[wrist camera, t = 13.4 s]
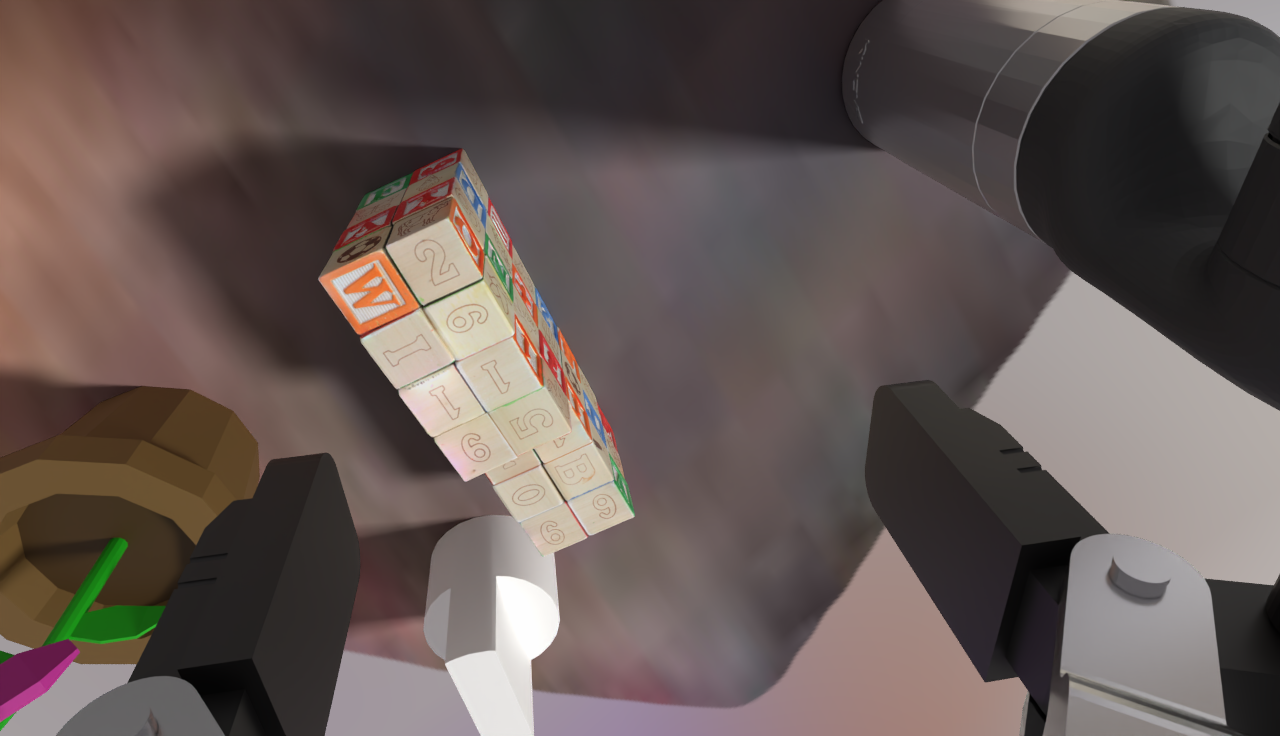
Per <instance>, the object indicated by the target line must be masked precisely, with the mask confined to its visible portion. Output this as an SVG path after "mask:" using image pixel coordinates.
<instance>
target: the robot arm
mask: <svg viewBox="0 0 1280 736" xmlns="http://www.w3.org/2000/svg"><path fill="white" fill-rule="evenodd" d="M842 95H843V100H844V104H845V108H846V112H847V114H848V116H849V118H850V120H851V122H852V124H853V126H854V127H855V128H856V129H857V130H858V131H859V133H860V134H861V135H862V136H863V137H864V138H865V139H867V140H868V141H870V142H871V143H873V144H874V145H875V146H877V147H879V148H881V149H882V150H884V151H886V152H888V153H889V154H891V155H893V156H895V157H896V158H898V159H899V160H901V161H903V162H904V163H906V164H908V165H909V166H911V167H913V168H915V169H916V170H918V171H920V172H922V173H923V174H925V175H927V176H929V177H930V178H932V179H934V180H935V181H937V182H939V183H941V184H942V185H944V186H946V187H948V188H949V189H951V190H953V191H955V192H956V193H958V194H960V195H961V196H963V197H965V198H967V199H968V200H970V201H972V202H974V203H975V204H977V205H979V206H981V207H982V208H984V209H986V210H988V211H989V212H991V213H993V214H994V215H996V216H998V217H1000V218H1001V219H1003V220H1005V221H1007V222H1009V223H1011V224H1012V225H1014V226H1016V227H1018V228H1019V229H1021V230H1023V231H1025V232H1026V233H1028V234H1030V235H1032V236H1033V237H1035V238H1037V239H1038V240H1040V241H1042V242H1044V243H1046V244H1047V245H1049V246H1050V247H1052V248H1053V249H1054V251H1055V253H1056V254H1057V256H1058V257H1059V258H1060V260H1061V261H1062V262H1063V263H1064V264H1065V265H1066V266H1067V267H1068V268H1069V269H1070V270H1071V271H1072V272H1074V273H1075V274H1076V275H1078V276H1079V277H1081V278H1082V279H1083V280H1085V281H1086V282H1088V283H1090V284H1091V285H1093V286H1094V287H1096V288H1097V289H1099V290H1100V291H1102V292H1103V293H1105V294H1106V295H1108V296H1109V297H1111V298H1112V299H1113V300H1115V301H1116V302H1118V303H1119V304H1121V305H1122V306H1123V307H1125V308H1126V309H1128V310H1129V311H1131V312H1132V313H1134V314H1135V315H1136V316H1138V317H1139V318H1141V319H1142V320H1143V321H1145V322H1146V323H1147V324H1149V325H1150V326H1152V327H1153V328H1154V329H1156V330H1157V331H1158V332H1160V333H1161V334H1163V335H1164V336H1165V337H1167V338H1168V339H1170V340H1171V341H1172V342H1174V343H1175V344H1176V345H1178V346H1179V347H1181V348H1182V349H1183V350H1185V351H1186V352H1188V353H1189V354H1190V355H1192V356H1193V357H1194V358H1196V359H1197V360H1199V361H1200V362H1202V363H1203V364H1205V365H1206V366H1208V367H1209V368H1211V369H1212V370H1214V371H1215V372H1217V373H1218V374H1220V375H1221V376H1223V377H1224V378H1226V379H1227V380H1229V381H1230V382H1232V383H1233V384H1235V385H1236V386H1238V387H1239V388H1241V389H1243V390H1244V391H1246V392H1247V393H1249V394H1251V395H1253V396H1254V397H1256V398H1258V399H1260V400H1261V401H1263V402H1265V403H1267V404H1269V405H1270V406H1272V407H1274V408H1276V409H1278V410H1280V37H1279V36H1277V35H1276V34H1275V33H1274V32H1272V31H1271V30H1270V29H1268V28H1266V27H1264V26H1263V25H1261V24H1259V23H1257V22H1255V21H1253V20H1251V19H1249V18H1246V17H1242V16H1239V15H1235V14H1230V13H1226V12H1220V11H1212V10H1203V9H1194V8H1185V7H1175V6H1167V5H1158V4H1149V3H1140V2H1132V1H1119V0H883V1H881V2H880V3H879V4H878V5H877V6H875V7H874V8H873V9H872V11H871V12H870V13H869V14H868V16H867V17H866V18H865V19H864V20H863V22H862V23H861V24H860V26H859V28H858V30H857V32H856V33H855V35H854V37H853V39H852V40H851V43H850V46H849V49H848V52H847V54H846V57H845V61H844V68H843V74H842ZM865 481H866V487H867V492H868V495H869V498H870V501H871V503H872V506H873V508H874V509H875V511H876V513H877V514H878V516H879V517H880V519H881V520H882V522H883V524H884V525H885V527H886V528H887V530H888V531H889V533H890V534H891V536H892V538H893V539H894V541H895V542H896V544H897V546H898V547H899V549H900V550H901V552H902V553H903V555H904V556H905V558H906V560H907V561H908V563H909V564H910V566H911V567H912V569H913V570H914V572H915V573H916V575H917V577H918V578H919V580H920V581H921V583H922V584H923V586H924V587H925V589H926V591H927V592H928V594H929V596H930V597H931V599H932V600H933V602H934V603H935V605H936V606H937V608H938V610H939V611H940V613H941V614H942V616H943V617H944V619H945V620H946V622H947V624H948V625H949V627H950V628H951V630H952V631H953V633H954V635H955V636H956V638H957V639H958V641H959V642H960V644H961V645H962V647H963V649H964V650H965V652H966V653H967V655H968V656H969V658H970V660H971V661H972V663H973V664H974V666H975V667H976V669H977V671H978V672H979V674H980V675H981V677H982V678H983V680H984V682H991V681H996V680H1002V679H1008V678H1014V677H1019V678H1020V680H1021V681H1022V682H1023V684H1024V685H1025V687H1026V688H1027V690H1028V693H1027V696H1026V699H1025V702H1024V706H1023V712H1022V720H1021V727H1020V734H1019V736H1280V575H1279V577H1278V579H1277V581H1276V583H1275V585H1262V584H1253V583H1243V582H1233V581H1223V580H1213V579H1204V578H1203V576H1202V575H1201V574H1200V573H1199V571H1197V570H1196V569H1195V568H1194V567H1193V566H1192V565H1191V564H1190V563H1189V562H1187V561H1186V560H1185V559H1183V558H1182V557H1181V556H1179V555H1177V554H1176V553H1174V552H1173V551H1171V550H1169V549H1167V548H1165V547H1163V546H1161V545H1158V544H1156V543H1153V542H1151V541H1148V540H1145V539H1141V538H1138V537H1133V536H1129V535H1121V534H1109V533H1108V532H1107V531H1106V530H1105V529H1104V528H1103V527H1102V526H1101V525H1100V524H1099V523H1098V522H1097V521H1096V520H1095V519H1094V518H1093V517H1092V516H1091V515H1090V514H1089V513H1088V512H1087V511H1086V510H1085V509H1084V508H1083V507H1082V506H1081V505H1080V504H1079V503H1078V502H1077V501H1076V500H1075V499H1074V498H1073V497H1072V496H1071V495H1070V494H1069V493H1068V492H1067V491H1066V490H1065V489H1064V488H1063V487H1062V486H1061V485H1060V484H1059V483H1058V482H1057V481H1056V480H1055V479H1054V478H1053V477H1052V476H1051V475H1050V474H1049V473H1048V472H1047V471H1046V470H1042V469H1041V465H1040V464H1039V463H1038V462H1037V461H1036V460H1035V459H1034V458H1033V457H1032V456H1031V455H1030V454H1029V453H1028V452H1024V451H1023V447H1022V446H1021V445H1020V444H1019V443H1018V442H1017V441H1016V440H1015V439H1014V438H1013V437H1012V436H1011V435H1010V434H1009V433H1008V432H1007V431H1006V430H1005V429H1004V428H1003V427H1002V426H1001V425H1000V424H998V423H996V422H994V421H992V420H990V419H989V418H986V417H985V416H983V415H981V414H979V413H977V412H976V411H974V410H972V409H970V408H964V409H959V407H958V406H957V405H956V404H955V403H954V402H953V401H952V400H951V399H950V398H949V397H948V396H947V395H946V394H945V393H944V392H943V391H942V390H941V389H940V387H939V386H938V385H937V384H935V383H934V382H933V381H930V380H924V381H916V382H908V383H900V384H892V385H884V386H880V387H879V388H878V389H877V391H876V393H875V396H874V401H873V409H872V417H871V425H870V433H869V441H868V449H867V456H866V464H865ZM359 576H360V549H359V542H358V537H357V533H356V530H355V527H354V523H353V520H352V517H351V513H350V510H349V507H348V504H347V500H346V497H345V494H344V490H343V487H342V484H341V480H340V477H339V474H338V471H337V467H336V464H335V462H334V460H333V458H332V456H331V455H330V454H328V453H321V454H313V455H305V456H297V457H289V458H281V459H273V460H271V461H270V462H269V463H268V465H267V466H266V469H265V471H264V473H263V475H262V478H261V480H260V482H259V484H258V487H257V489H256V491H255V494H254V496H253V498H250V499H243V500H235V501H232V502H231V503H230V504H229V505H228V506H227V507H226V508H225V509H224V510H223V511H222V512H221V513H220V514H219V515H218V516H217V517H216V518H215V519H214V520H213V521H212V522H211V523H210V524H209V525H208V526H206V527H205V529H204V531H203V533H202V535H201V537H200V539H199V541H198V543H197V545H196V547H195V549H194V551H193V553H192V555H191V557H190V564H187V565H186V567H185V569H184V571H183V573H182V575H181V577H180V579H179V581H178V589H174V591H173V593H172V595H171V597H170V599H169V601H168V603H167V605H166V607H165V609H164V611H163V613H162V615H161V617H160V619H159V621H158V623H157V625H156V627H155V629H154V631H153V633H152V635H151V637H150V639H149V641H148V643H147V645H146V647H145V649H144V651H143V653H142V655H141V657H140V659H139V661H138V663H137V665H136V667H135V669H134V671H133V673H132V675H131V677H130V679H129V681H128V683H127V684H124V685H122V686H119V687H117V688H115V689H113V690H111V691H109V692H107V693H105V694H103V695H102V696H100V697H99V698H97V699H95V700H94V701H92V702H91V703H89V704H88V705H87V706H86V707H84V708H83V709H82V710H80V711H79V712H78V713H77V714H76V715H75V716H73V718H71V719H70V720H69V721H68V722H67V723H66V724H65V725H64V726H63V728H62V729H61V730H60V731H59V732H58V734H57V735H56V736H325V731H326V726H327V722H328V717H329V713H330V709H331V704H332V700H333V695H334V690H335V686H336V681H337V677H338V672H339V668H340V663H341V659H342V654H343V650H344V645H345V641H346V636H347V632H348V627H349V623H350V618H351V614H352V609H353V605H354V600H355V596H356V591H357V587H358V582H359Z"/></svg>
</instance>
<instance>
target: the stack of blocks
mask: <svg viewBox="0 0 1280 736" xmlns="http://www.w3.org/2000/svg"><path fill="white" fill-rule="evenodd" d="M318 280H319V281H320V283H321V284H322V286H323V287H324V289H325V290H326V291H327V293H328V294H329V295H330V297H331V298H332V299H333V301H334V302H335V304H336V305H337V306H338V308H339V309H340V311H341V312H342V313H343V315H344V316H345V318H346V319H347V320H348V322H349V323H350V325H351V326H352V327H353V329H354V330H355V332H356V333H357V334H359V335H360V341H361V343H362V345H363V346H364V347H365V349H366V350H367V351H368V353H369V354H370V356H371V357H372V358H373V359H374V361H375V362H376V363H377V365H378V366H379V367H380V369H381V370H382V372H383V373H384V374H385V376H386V377H387V378H388V379H389V381H390V382H391V383H392V385H393V386H394V387H395V388H396V389H398V394H399V396H400V397H401V399H402V400H403V402H404V403H405V404H406V406H407V407H408V408H409V409H410V411H411V412H412V413H413V415H414V416H415V417H416V419H417V420H418V421H419V423H420V424H421V425H422V427H423V428H424V429H425V431H426V432H427V433H428V434H429V435H430V436H431V437H433V438H434V441H435V443H436V444H437V446H438V447H439V448H440V450H441V451H442V452H443V454H444V455H445V456H446V458H447V459H448V460H449V462H450V463H451V464H452V466H453V467H454V468H455V470H456V471H457V472H458V473H459V475H460V476H461V477H462V479H463V480H464V481H465V482H466V481H468V480H470V479H473V478H475V477H477V476H479V475H481V474H483V473H485V475H486V476H487V478H488V479H489V480H490V482H491V483H492V487H493V489H494V490H495V492H496V493H497V495H498V496H499V498H500V499H501V501H502V502H503V504H504V505H505V506H506V508H507V509H508V511H509V512H510V514H511V515H512V517H513V518H514V519H515V521H516V522H517V523H520V524H521V526H522V528H523V529H524V531H525V532H526V534H527V535H528V537H529V538H530V540H531V541H532V543H533V544H534V545H535V547H536V549H537V550H538V551H539V553H540V554H541V556H543V557H544V556H546V555H549V554H551V553H553V552H556V551H558V550H560V549H563V548H565V547H567V546H570V545H572V544H574V543H577V542H579V541H582V540H584V539H586V538H587V537H588V536H589V535H593V534H595V533H598V532H600V531H603V530H605V529H607V528H610V527H612V526H614V525H616V524H619V523H621V522H623V521H626V520H628V519H630V518H632V517H634V516H635V514H634V509H633V504H632V500H631V496H630V491H629V488H628V485H627V483H626V481H625V478H624V473H623V469H622V465H621V461H620V457H619V455H618V451H617V446H616V441H615V438H614V434H613V431H612V429H611V427H610V425H609V423H608V422H607V420H606V418H605V416H604V414H603V413H602V411H601V409H600V407H599V406H598V404H597V401H596V397H595V395H594V393H593V392H592V390H591V388H590V386H589V384H588V382H587V380H586V378H585V377H584V375H583V373H582V371H581V369H580V367H579V366H578V365H577V362H576V360H575V358H574V356H573V354H572V352H571V350H570V348H569V346H568V344H567V343H566V341H565V339H564V337H563V335H562V333H561V331H560V329H559V328H558V327H557V326H556V325H555V323H554V321H553V319H552V317H551V315H550V313H549V311H548V310H547V308H546V306H545V304H544V302H543V300H542V298H541V296H540V294H539V293H538V291H537V289H536V288H535V286H534V284H533V282H532V280H531V278H530V276H529V275H528V273H527V271H526V269H525V267H524V265H523V263H522V261H521V260H520V258H519V256H518V254H517V252H516V250H515V249H514V247H513V245H512V240H511V239H510V237H509V235H508V233H507V231H506V229H505V227H504V225H503V223H502V222H501V220H500V218H499V216H498V214H497V212H496V210H495V208H494V206H493V204H492V203H491V201H490V199H489V197H488V194H487V192H486V190H485V188H484V186H483V184H482V183H481V181H480V179H479V177H478V175H477V173H476V171H475V169H474V167H473V165H472V164H471V162H470V160H469V158H468V156H467V154H466V152H465V151H464V150H463V149H459V150H457V151H455V152H453V153H451V154H449V155H447V156H445V157H442V158H440V159H438V160H436V161H434V162H432V163H430V164H428V165H426V166H423V167H421V168H419V169H417V170H415V171H414V172H413V173H411V174H409V175H406V176H404V177H402V178H400V179H398V180H396V181H393V182H391V183H389V184H387V185H385V186H383V187H380V188H378V189H376V190H374V191H372V192H369V193H367V194H366V195H365V196H364V197H363V199H362V201H361V202H360V204H359V206H358V208H357V210H356V213H355V215H354V216H353V218H352V219H351V221H350V223H349V225H348V226H347V229H346V230H345V231H344V232H343V233H342V235H341V236H340V239H339V240H338V242H337V243H336V246H335V247H334V249H333V254H332V256H331V257H330V259H329V261H328V263H327V264H326V266H325V267H324V269H323V271H322V273H321V274H320V276H319V278H318Z"/></svg>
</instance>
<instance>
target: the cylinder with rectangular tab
mask: <svg viewBox="0 0 1280 736" xmlns="http://www.w3.org/2000/svg"><path fill="white" fill-rule="evenodd" d="M559 622H560V617H559V605H558V593H557V581H556V569H555V558H554V552H553V553H551V554H549V555H546V556H544V557H543V556H541V554H540V553H539V551H538V550H537V549H536V547H535V545H534V544H533V543H532V541H531V540H530V538H529V537H528V535H527V534H526V532H525V531H524V529H523V528H522V526H521V524H520V523H517V522H516V521H515V519H514V518H513V517H511V516H501V515H489V516H482V517H475V518H473V519H470V520H467V521H464V522H462V523H459V524H458V525H456V526H455V527H453V528H452V529H450V530H449V531H447V532H446V533H445V534H444V535H443V536H442V538H441V539H440V540H439V541H438V542H437V544H436V546H435V548H434V550H433V553H432V556H431V565H430V574H429V583H428V592H427V601H426V610H425V619H424V630H423V631H424V634H425V637H426V641H427V643H428V645H429V646H430V647H431V649H432V650H433V651H434V653H435V654H437V655H438V656H439V657H441V658H442V659H443V660H445V665H446V667H447V669H448V671H449V673H450V675H451V677H452V679H453V681H454V683H455V685H456V687H457V689H458V691H459V693H460V695H461V697H462V699H463V701H464V703H465V705H466V707H467V709H468V711H469V713H470V715H471V717H472V719H473V721H474V723H475V725H476V727H477V729H478V731H479V733H480V735H481V736H534V724H533V700H532V674H531V660H532V659H534V658H535V657H537V656H538V655H540V654H541V653H542V652H543V651H544V650H545V649H546V648H547V647H548V646H549V645H550V644H551V643H552V641H553V639H554V638H555V636H556V634H557V632H558V627H559Z"/></svg>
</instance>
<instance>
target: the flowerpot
mask: <svg viewBox="0 0 1280 736" xmlns="http://www.w3.org/2000/svg"><path fill="white" fill-rule="evenodd" d="M259 477H260V475H259V456H258V443H257V441H256V440H255V439H254V437H253V436H252V435H251V434H250V432H249V431H248V430H247V428H246V427H245V426H244V424H243V423H242V422H241V421H240V419H239V418H238V417H237V415H236V414H235V413H234V412H233V411H232V410H230V409H228V408H226V407H224V406H222V405H220V404H218V403H216V402H214V401H212V400H210V399H208V398H206V397H204V396H202V395H200V394H198V393H196V392H194V391H192V390H188V389H174V388H161V387H147V386H141V387H138V388H136V389H133V390H130V391H128V392H125V393H123V394H120V395H118V396H115V397H113V398H110V399H108V400H105V401H102V402H101V403H99V404H98V405H97V406H96V407H94V408H93V409H92V410H91V411H89V412H88V413H87V414H86V415H84V416H83V417H82V418H80V419H79V420H78V421H77V422H75V423H74V424H73V425H72V426H70V427H69V428H68V429H67V430H65V431H64V432H63V433H62V434H60V435H57V436H55V437H52V438H50V439H47V440H45V441H42V442H39V443H37V444H34V445H32V446H29V447H27V448H24V449H22V450H19V451H16V452H14V453H11V454H9V455H6V456H4V457H1V458H0V634H1V635H2V636H3V637H4V638H6V639H7V640H10V641H13V642H16V643H19V644H22V645H25V646H28V647H31V648H34V649H32V650H29V651H26V652H22V653H19V654H16V655H12V654H9V653H6V652H3V651H0V731H1V730H2V728H3V727H4V726H5V725H6V724H7V723H8V721H9V720H10V719H11V718H12V717H13V715H14V714H15V713H16V712H17V711H18V710H19V709H21V708H23V707H24V706H26V705H27V704H29V703H30V702H32V701H33V700H35V699H36V698H38V697H39V696H41V695H42V694H44V693H45V692H47V691H48V690H49V689H50V687H51V686H52V685H53V684H54V683H55V681H56V680H57V679H58V678H59V677H60V675H61V674H62V673H63V672H64V671H65V670H66V668H67V667H68V666H69V665H70V664H71V662H72V661H73V662H76V663H79V664H137V663H138V661H139V659H140V657H141V655H142V653H143V651H144V649H145V647H146V645H147V643H148V641H149V639H150V637H151V635H152V633H153V631H154V629H155V627H156V625H157V623H158V621H159V619H160V617H161V615H162V613H163V611H164V609H165V607H166V605H167V603H168V601H169V599H170V597H171V595H172V593H173V591H174V589H178V581H179V579H180V577H181V575H182V573H183V571H184V569H185V567H186V565H187V564H190V557H191V555H192V553H193V551H194V549H195V547H196V545H197V543H198V541H199V539H200V537H201V535H202V533H203V531H204V529H205V527H206V526H208V525H209V524H210V523H211V522H212V521H213V520H214V519H215V518H216V517H217V516H218V515H219V514H220V513H221V512H222V511H223V510H224V509H225V508H226V507H227V506H228V505H229V504H230V503H231V502H232V501H235V500H243V499H250V498H253V496H254V494H255V491H256V489H257V486H258V482H259Z"/></svg>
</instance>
